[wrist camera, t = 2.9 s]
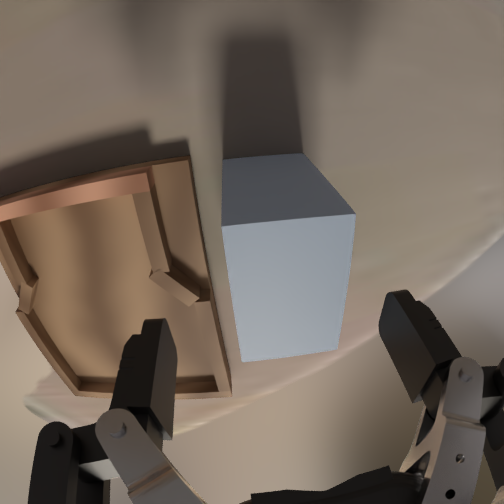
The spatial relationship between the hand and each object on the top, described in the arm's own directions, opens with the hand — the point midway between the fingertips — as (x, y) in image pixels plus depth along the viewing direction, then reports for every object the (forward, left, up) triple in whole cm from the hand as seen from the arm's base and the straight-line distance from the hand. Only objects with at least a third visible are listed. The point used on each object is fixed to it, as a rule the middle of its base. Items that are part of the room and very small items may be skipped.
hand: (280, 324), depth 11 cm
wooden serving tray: (+11, +6, -9) cm, 16 cm away
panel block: (-1, 0, -9) cm, 9 cm away
